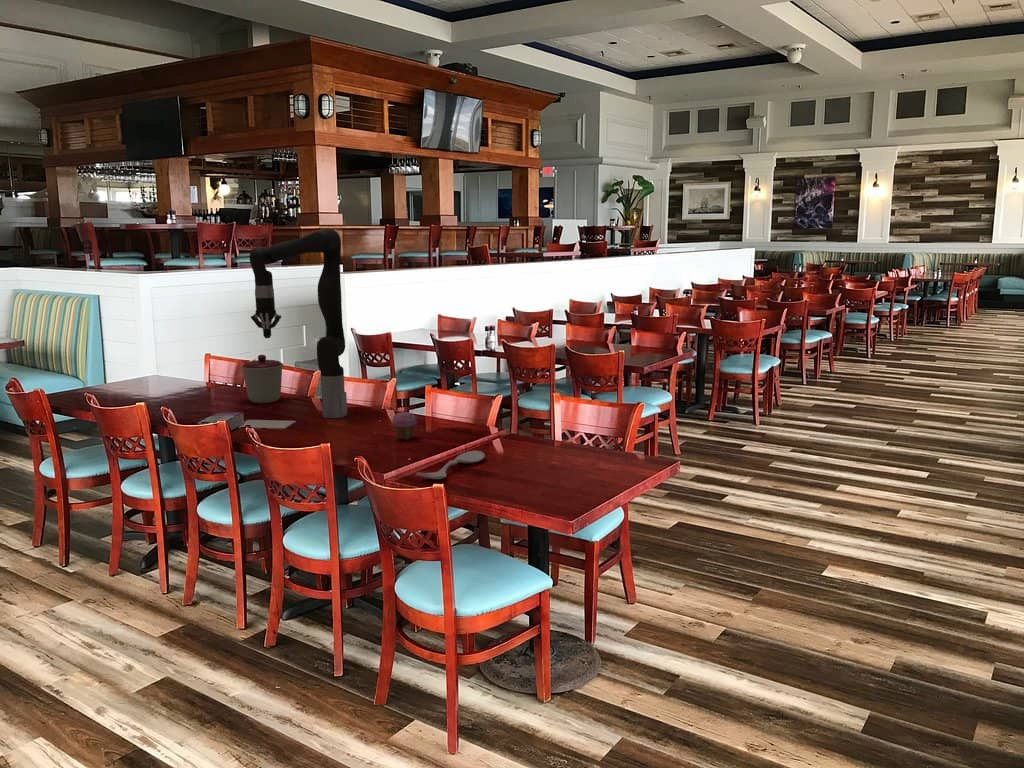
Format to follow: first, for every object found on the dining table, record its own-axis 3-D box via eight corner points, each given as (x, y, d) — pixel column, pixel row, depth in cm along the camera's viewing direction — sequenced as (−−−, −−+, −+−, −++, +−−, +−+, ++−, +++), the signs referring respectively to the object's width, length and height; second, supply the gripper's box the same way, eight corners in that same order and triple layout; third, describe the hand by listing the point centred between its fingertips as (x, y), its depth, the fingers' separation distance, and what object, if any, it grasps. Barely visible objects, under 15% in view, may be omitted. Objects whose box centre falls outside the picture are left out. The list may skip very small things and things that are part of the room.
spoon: (415, 482, 249) (414, 471, 248) (466, 456, 277) (466, 446, 276) (440, 486, 245) (440, 475, 244) (489, 459, 273) (489, 449, 273)
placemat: (296, 421, 328) (296, 420, 328) (284, 429, 316) (284, 428, 316) (248, 420, 330) (248, 419, 330) (234, 427, 318) (234, 426, 318)
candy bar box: (218, 424, 325) (198, 434, 309) (216, 412, 324) (196, 421, 308) (245, 424, 324) (226, 433, 307) (243, 411, 323) (225, 420, 307)
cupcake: (410, 442, 295) (409, 415, 293) (388, 440, 298) (387, 413, 296) (421, 436, 303) (420, 410, 301) (400, 434, 306) (399, 408, 304)
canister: (242, 406, 356) (238, 358, 352) (245, 398, 374) (241, 352, 370) (285, 404, 361) (282, 356, 357) (286, 396, 378) (283, 350, 374)
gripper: (283, 295, 342) (286, 337, 345) (253, 295, 344) (256, 336, 347) (276, 297, 335) (279, 339, 338) (245, 297, 336) (248, 339, 340)
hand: (267, 338), depth 342 cm, fingers closed
